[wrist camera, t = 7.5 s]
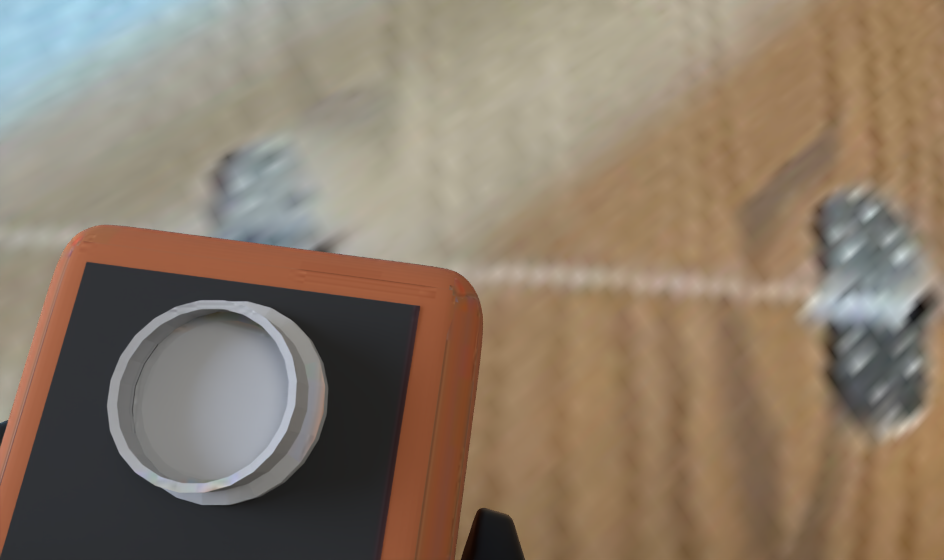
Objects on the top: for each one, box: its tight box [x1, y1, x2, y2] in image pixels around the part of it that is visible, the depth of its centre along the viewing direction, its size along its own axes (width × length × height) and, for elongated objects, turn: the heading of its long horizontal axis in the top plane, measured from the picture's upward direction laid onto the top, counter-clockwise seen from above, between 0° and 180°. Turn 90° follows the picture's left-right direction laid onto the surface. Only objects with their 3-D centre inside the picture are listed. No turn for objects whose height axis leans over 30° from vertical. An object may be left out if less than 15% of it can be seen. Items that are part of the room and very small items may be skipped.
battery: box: [0, 225, 483, 560], centre depth 10 cm, size 4×7×10 cm, turn 172°
